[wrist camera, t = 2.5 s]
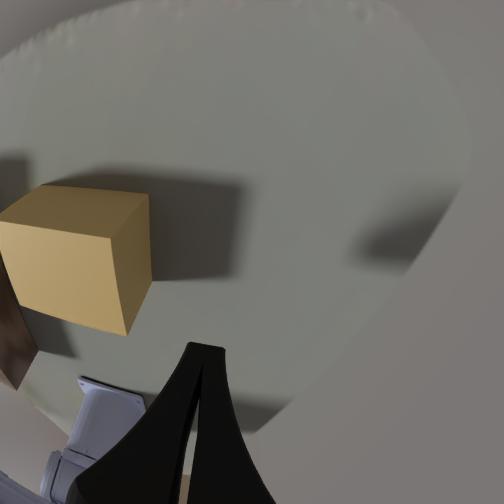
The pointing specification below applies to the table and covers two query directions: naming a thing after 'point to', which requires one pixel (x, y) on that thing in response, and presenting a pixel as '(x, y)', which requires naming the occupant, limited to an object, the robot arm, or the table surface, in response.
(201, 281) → the table surface
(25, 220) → the ochre block
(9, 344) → the walnut block
